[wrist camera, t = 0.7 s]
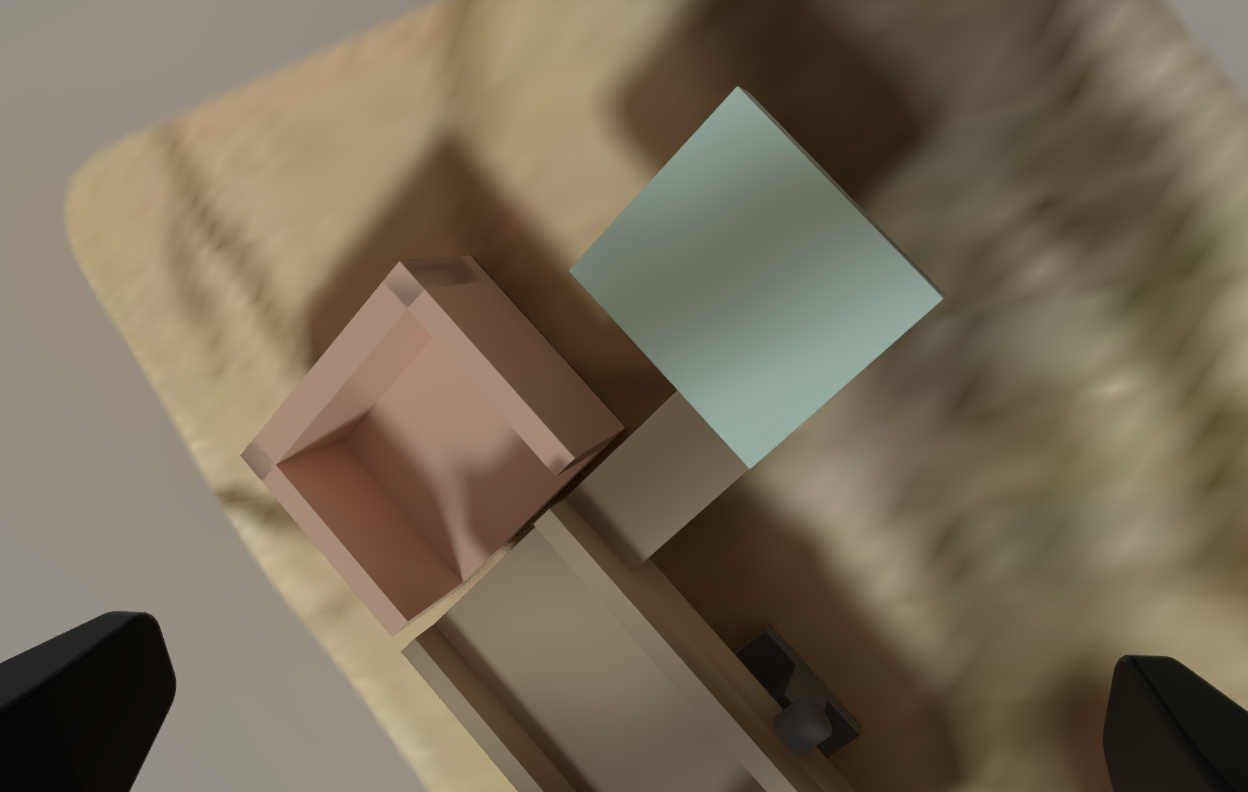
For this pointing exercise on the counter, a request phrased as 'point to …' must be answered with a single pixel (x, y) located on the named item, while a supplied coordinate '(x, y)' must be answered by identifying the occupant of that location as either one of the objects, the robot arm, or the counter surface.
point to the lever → (678, 481)
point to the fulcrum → (795, 684)
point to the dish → (428, 436)
